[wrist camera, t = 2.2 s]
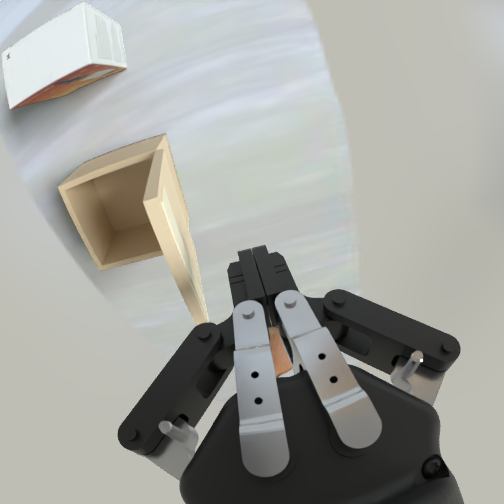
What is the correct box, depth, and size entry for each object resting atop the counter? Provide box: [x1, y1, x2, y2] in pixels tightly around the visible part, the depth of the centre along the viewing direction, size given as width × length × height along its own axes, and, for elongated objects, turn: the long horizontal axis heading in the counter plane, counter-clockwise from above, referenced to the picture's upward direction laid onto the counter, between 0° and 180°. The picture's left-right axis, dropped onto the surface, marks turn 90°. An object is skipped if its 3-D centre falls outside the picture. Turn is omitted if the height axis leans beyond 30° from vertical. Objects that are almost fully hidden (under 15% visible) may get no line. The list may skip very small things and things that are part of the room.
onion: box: [269, 326, 292, 377], centre depth 44 cm, size 10×9×10 cm
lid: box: [143, 148, 209, 325], centre depth 18 cm, size 10×10×1 cm
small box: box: [1, 2, 127, 110], centre depth 14 cm, size 8×6×10 cm
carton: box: [58, 133, 189, 271], centre depth 25 cm, size 10×10×7 cm
